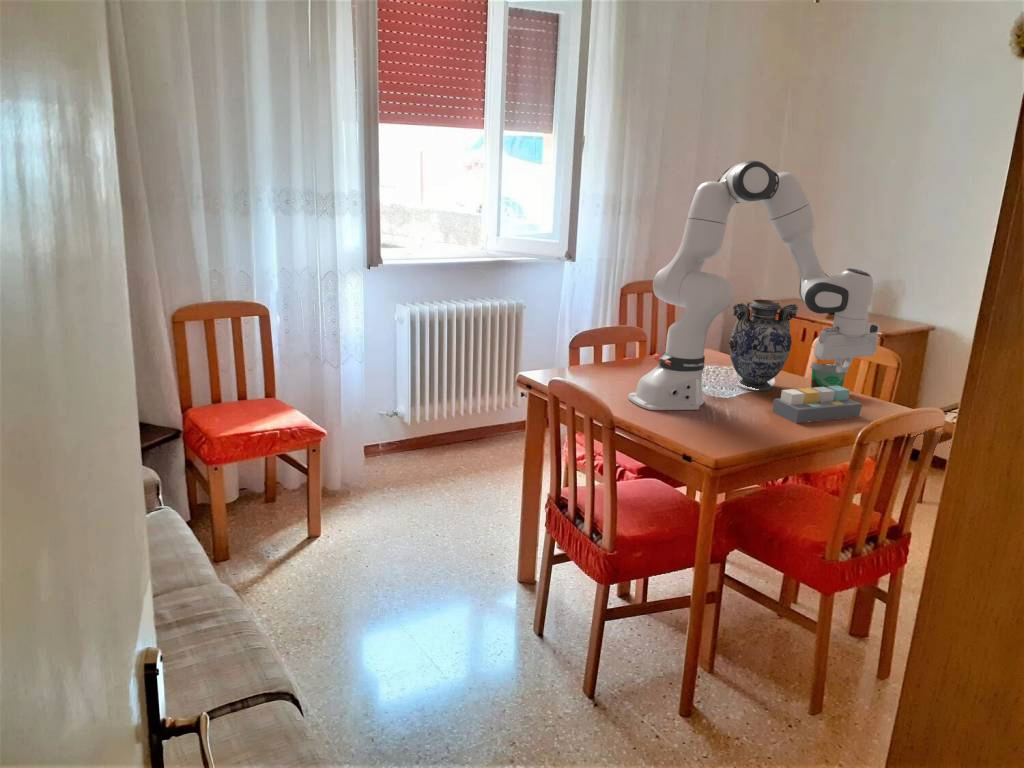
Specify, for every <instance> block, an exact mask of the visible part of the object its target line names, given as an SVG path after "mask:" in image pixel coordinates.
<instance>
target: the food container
mask: <svg viewBox="0 0 1024 768" xmlns="http://www.w3.org/2000/svg"><path fill="white" fill-rule="evenodd" d="M842 365H843V363H842ZM836 367H837V366H836V364H835V363H830V362H828V363H822V364H821V363H818V362H814V361H812V363H811V365H810V369H811V381H810V382H811V383H810V388H811V389H812V388H814V387H826V388H827V386H838V385H839V386H841V387H844V386H843V385H844V382H845V378H846V375H847V373H849V372H850V368H849V369H848V372H844V373H838V372H836Z"/></svg>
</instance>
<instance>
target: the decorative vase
mask: <svg viewBox="0 0 1024 768" xmlns="http://www.w3.org/2000/svg"><path fill="white" fill-rule="evenodd" d="M797 305H798V304H796V303H793V302H792V303H790V302H789V303H787V304H786V305H784V306H783V307H782V306H781V305H780V302H779V301H776V300H770V299H753V300H752V302H750V303H749V304H748V305H746V304H745V303H743V302H738V303H735V304H734V305H733V307H732V308H733V312H732V316H735V317H736V318H737V320H736V322H735V324H734V328H733V330H732V332H731V333H730V337H729V341H728V344H729V356H730V360H731V363H732V364H731V365H732V366H733V368H734V370H735V372H736V373H737V374H738V376H739V377H740V378H741V379H739V380H740V381H739V380H738V381H739V382H740V383H741V384H743V385H745V386H747V387H752V388H755V389H759V390H758V391H757V392H767V391H770V390H771V389H772V385H771V384H770V383H769V381H771V380H773V379H774V378H775V377H776V376H777V375H778V374H779V373H780V372H781V371H782V369H783V368H784V367H785V365H786V363H787V360H788V359H789V356H790V352H791V348H792V343H793V341H792V336H791V332H790V331H791V323H790V321H791V320H792V319H793V318H794V317H797V313H798V310H799V307H798V306H797ZM750 308H752V311H753V312H752V313H751V309H750ZM778 311H779V312H778ZM777 313H778V317H777ZM751 315H752V316H751ZM776 318H777V319H776Z"/></svg>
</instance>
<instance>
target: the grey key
mask: <svg viewBox="0 0 1024 768" xmlns="http://www.w3.org/2000/svg"><path fill="white" fill-rule="evenodd" d="M812 389H813V390H816V391H818V392H820V396H819V402H831V401H833V400H834V394H835V391H834V390H831V389H829V388H826V387H814V388H812Z"/></svg>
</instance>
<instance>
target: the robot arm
mask: <svg viewBox="0 0 1024 768" xmlns="http://www.w3.org/2000/svg"><path fill="white" fill-rule="evenodd" d="M752 202H760V203H761V204H762V205H763V207H764V208H765V210H766V212H767V216H768V219H769V222H770V224H771V226H772V228H773V230H774V232H775V233H776V235H777V237H778V238H779V240H780V241H781V243H783V245H785V246H786V248H787V249H788V250H789V252H790V254H791V256H792V259H793V261H794V265H795V267H796V269H797V272H798V275H799V289H798V290H799V293H798V294H799V297H800V299H801V301H802V302H803V303H804V304H805V306H806V308H808V309H809V311H811V312H813V313H815V314H820V315H821V314H822V315H823V314H833V313H834V317H833V323H832V327H825V328H824V329H823V330H821V331H820V332H819V336H818V338H817V340H816V344H815V348H814V353H813V355H814V357H815V358H816V359H818V360H821V361H833V360H834V364H836V366H837V367H836V372H838V373H844V372H847V373H849V372H848V369H849V370H850V366H851V365H852V363H853V361H854V358H864V357H865V358H866V357H873V356H874V355H875V353H876V352H877V348H878V342H879V334H878V333H879V332H880V330H881V326H880V325H878V324H876V323H873V322H870V321H869V307H870V305H871V303H872V297H873V289H874V280H873V277H872V276H871V275H870V274H869V273H868V272H866V271H863V270H860V269H856V268H851V267H850V268H845V269H844V270H843V271H840V272H838V273H836V274H834V275H831V276H829V275H828V274H827V273H826V272H825V271H824V269H822V267H821V264H820V261H819V259H818V255H817V252H816V250H815V247H814V244H813V243H814V242H813V235H814V231H815V228H816V227H815V220H814V214H813V211H812V207H811V204H810V203H809V200H808V197H807V195H806V193H805V191H804V189H803V187H802V185H801V183H800V182H799V181H798V179H797V178H796V176H795V175H794V174H793V173H792V172H789V171H780V172H775V171H774V170H773V169H771V167H770V166H768V165H767V164H766V163H764V162H761V161H759V160H758V161H757V160H748V161H742V162H739V163H737V164H734V165H733V166H731V167H729V168H727V169H726V170H725V171H724V173H722V175H721V176H720V177H719V179H717V181H714V180H711V181H710V180H709V181H705V182H703V183H701V184H700V185H699V186H698V187H697V188H696V190H695V192H694V195H693V198H692V200H691V204H690V207H689V210H688V214H687V219H686V223H685V227H684V231H683V236H682V239H681V243H680V245H679V248H678V250H677V251H676V253H675V255H674V256H673V258H672V259H671V260H670V262H669V263H668V264H667V265H666V266H664V267H663V268H661V269H660V270H659V271H657V273H656V274H655V276H654V278H653V281H652V291H653V292H652V293H653V294H654V296H655V297H656V298H658V300H661V301H662V302H665V303H666V304H669V305H673V306H678V307H680V308H684V311H683V312H684V313H683V315H682V317H681V319H679V320H677V321H675V322H673V323H672V324H671V325H670V326H669V327H668V330H667V335H666V345H665V351H664V353H663V354H662V355H661V354H658V353H653V355H652V359H653V360H654V361H655V362H659V363H658V365H657V366H656V367H654V368H653V369H652V370H650V371H649V372H647V373H646V374H645V375H643V376H642V377H641V378H640V379H639V380H638V384H637V386H636V390H635V392H630V393H628V400H630V401H631V402H632V403H633V404H635V405H637V406H638V407H641V408H644V409H647V410H650V411H679V410H680V411H688V410H689V411H694V410H696V411H697V410H700V407H701V406H702V405H703V404H704V398H703V397H704V396H703V387H702V386H703V384H702V382H703V381H702V380H703V379H702V378H703V371H704V368H705V361H706V360H705V358H706V357H705V355H704V354H705V348H706V344H707V343H706V341H707V336H708V332H709V329H710V327H711V324H712V323H713V322H714V320H715V319H716V317H718V315H720V314H721V313H723V312H725V311H726V310H728V309H729V307H730V306H731V305H732V302H733V301H734V296H735V290H734V286H733V283H732V282H731V280H730V279H727V278H725V277H724V276H721V275H719V274H716V273H711V272H705V271H702V268H703V266H704V265H705V263H706V262H707V261H708V260H711V259H712V258H715V257H716V256H717V255H718V254H719V253H720V252H721V250H722V249H723V242H724V238H725V235H726V234H725V233H726V230H727V225H728V219H729V214H730V212H731V209H732V208H733V206H735V204H740V203H742V204H744V203H745V204H747V203H752ZM842 364H843V365H842Z"/></svg>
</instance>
